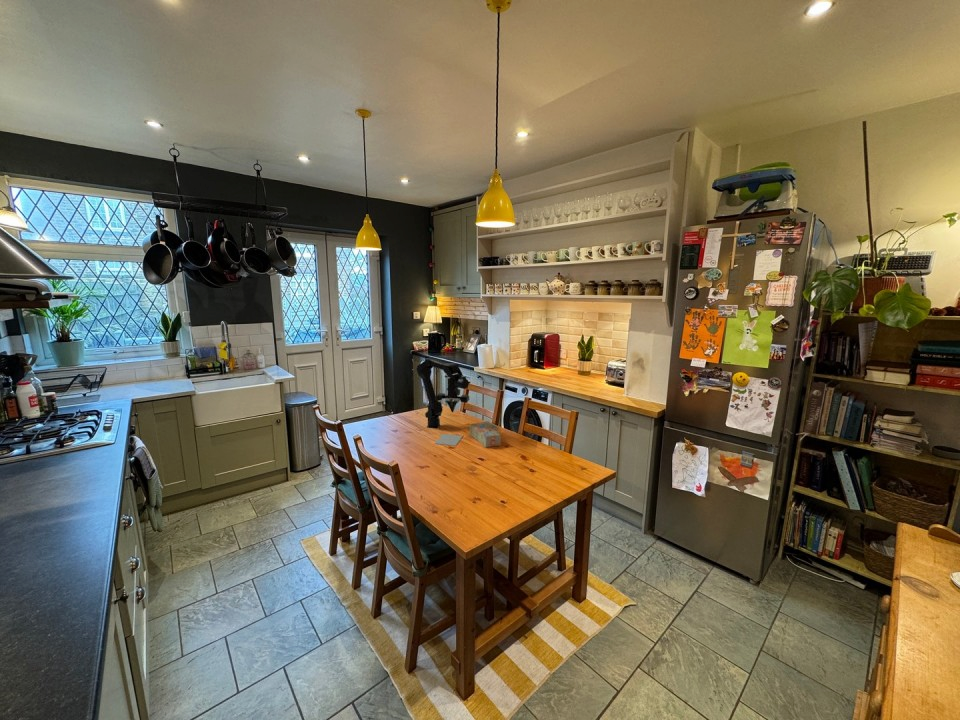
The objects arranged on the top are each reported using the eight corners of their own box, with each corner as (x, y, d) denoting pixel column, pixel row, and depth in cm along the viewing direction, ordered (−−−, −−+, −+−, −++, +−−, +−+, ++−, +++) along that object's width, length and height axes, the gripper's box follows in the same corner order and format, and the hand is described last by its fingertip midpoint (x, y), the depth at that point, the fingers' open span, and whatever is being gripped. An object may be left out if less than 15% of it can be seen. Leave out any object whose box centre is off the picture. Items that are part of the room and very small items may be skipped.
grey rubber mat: (434, 443, 210) (434, 443, 210) (443, 434, 223) (443, 433, 223) (455, 446, 207) (455, 445, 207) (462, 436, 221) (462, 435, 221)
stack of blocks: (485, 447, 205) (505, 444, 210) (485, 436, 204) (505, 433, 209) (469, 434, 224) (488, 430, 229) (469, 423, 223) (488, 420, 228)
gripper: (471, 383, 225) (471, 409, 228) (441, 381, 230) (442, 406, 233) (466, 388, 215) (466, 415, 218) (435, 386, 219) (435, 412, 222)
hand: (452, 412), depth 223 cm, fingers closed
